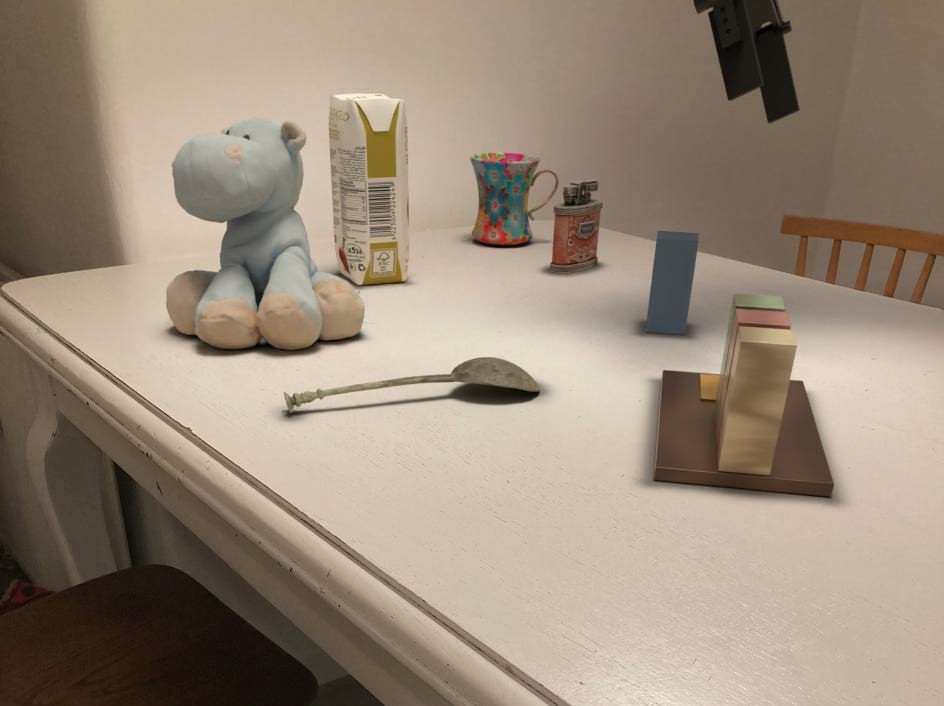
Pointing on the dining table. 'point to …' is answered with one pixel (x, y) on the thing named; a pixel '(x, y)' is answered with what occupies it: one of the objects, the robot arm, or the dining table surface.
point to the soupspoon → (439, 380)
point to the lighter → (576, 228)
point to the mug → (505, 196)
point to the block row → (744, 412)
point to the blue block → (671, 282)
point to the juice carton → (370, 187)
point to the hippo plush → (255, 245)
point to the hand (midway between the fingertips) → (766, 106)
